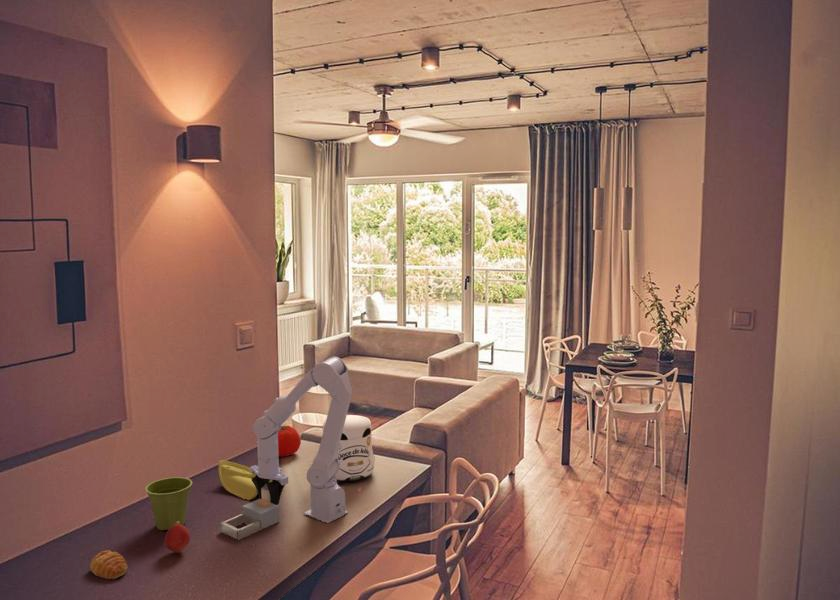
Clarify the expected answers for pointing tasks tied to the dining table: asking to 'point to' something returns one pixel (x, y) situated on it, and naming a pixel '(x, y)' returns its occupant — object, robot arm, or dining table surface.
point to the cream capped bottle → (265, 493)
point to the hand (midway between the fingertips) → (269, 502)
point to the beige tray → (230, 524)
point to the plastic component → (237, 479)
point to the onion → (177, 538)
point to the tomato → (288, 441)
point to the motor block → (262, 512)
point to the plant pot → (169, 501)
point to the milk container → (355, 449)
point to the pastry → (108, 565)
